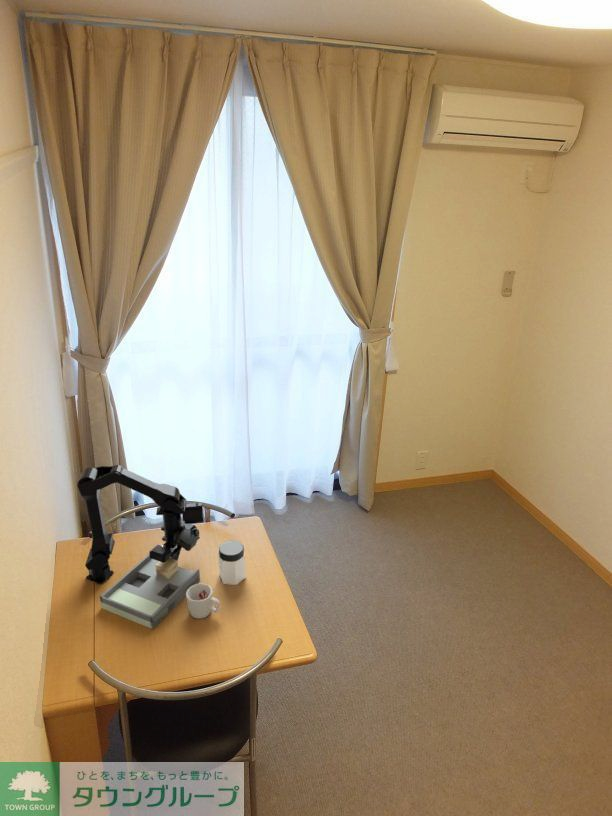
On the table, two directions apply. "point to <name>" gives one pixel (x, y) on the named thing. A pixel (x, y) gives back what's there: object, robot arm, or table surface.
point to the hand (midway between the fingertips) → (175, 561)
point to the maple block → (167, 568)
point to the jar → (231, 562)
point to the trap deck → (147, 593)
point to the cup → (201, 600)
